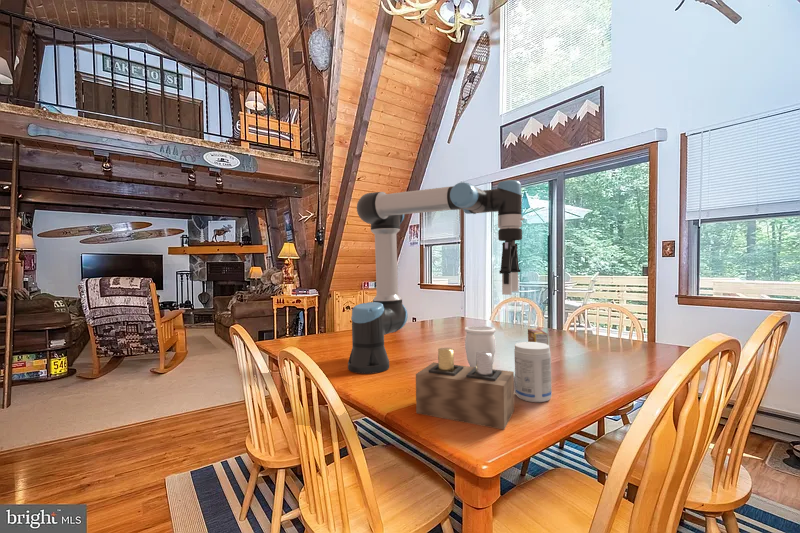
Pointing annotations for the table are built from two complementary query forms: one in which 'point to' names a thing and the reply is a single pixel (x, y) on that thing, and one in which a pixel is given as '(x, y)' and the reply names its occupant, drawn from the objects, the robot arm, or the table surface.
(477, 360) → the steel peg
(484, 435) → the table surface
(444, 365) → the brass peg
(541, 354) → the supplement tub
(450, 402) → the walnut block
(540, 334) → the candy box
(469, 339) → the jar
